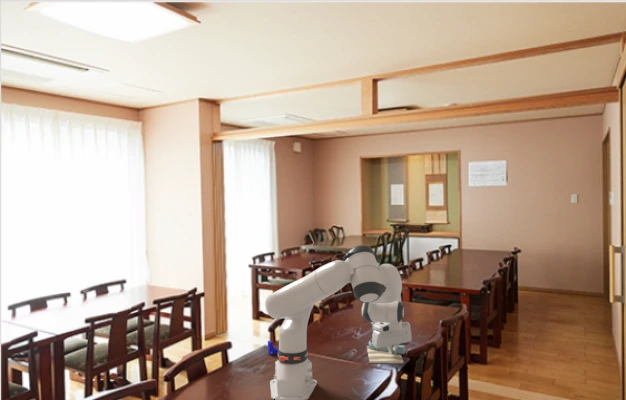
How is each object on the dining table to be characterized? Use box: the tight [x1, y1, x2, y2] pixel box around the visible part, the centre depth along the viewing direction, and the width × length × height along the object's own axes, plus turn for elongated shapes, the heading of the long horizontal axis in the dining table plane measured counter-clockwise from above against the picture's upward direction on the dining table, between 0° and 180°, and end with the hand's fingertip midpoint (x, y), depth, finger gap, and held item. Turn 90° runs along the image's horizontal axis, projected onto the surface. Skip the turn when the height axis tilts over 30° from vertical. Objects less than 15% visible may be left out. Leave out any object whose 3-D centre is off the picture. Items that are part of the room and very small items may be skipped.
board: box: [366, 338, 404, 364], centre depth 206 cm, size 20×15×5 cm
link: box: [368, 340, 406, 355], centre depth 210 cm, size 18×4×3 cm, turn 60°
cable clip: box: [267, 340, 279, 356], centre depth 214 cm, size 12×4×6 cm, turn 109°
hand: (392, 354), depth 202 cm, fingers closed
